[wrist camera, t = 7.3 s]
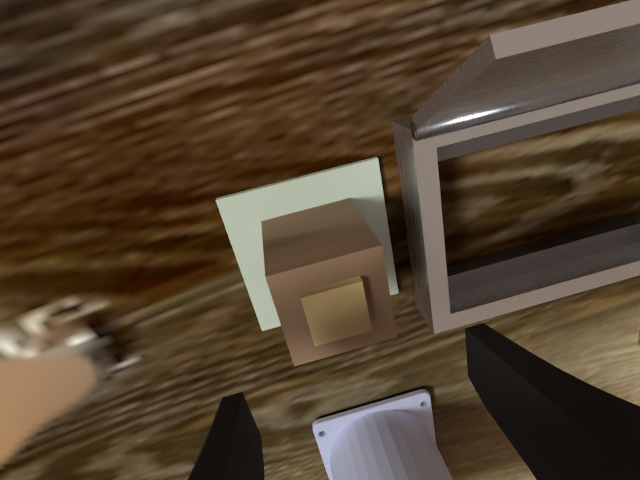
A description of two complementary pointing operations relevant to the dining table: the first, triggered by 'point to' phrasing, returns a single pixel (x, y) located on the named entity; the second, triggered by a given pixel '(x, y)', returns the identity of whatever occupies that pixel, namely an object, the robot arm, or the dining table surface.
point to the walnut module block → (327, 281)
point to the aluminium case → (519, 262)
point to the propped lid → (537, 69)
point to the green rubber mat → (294, 196)
